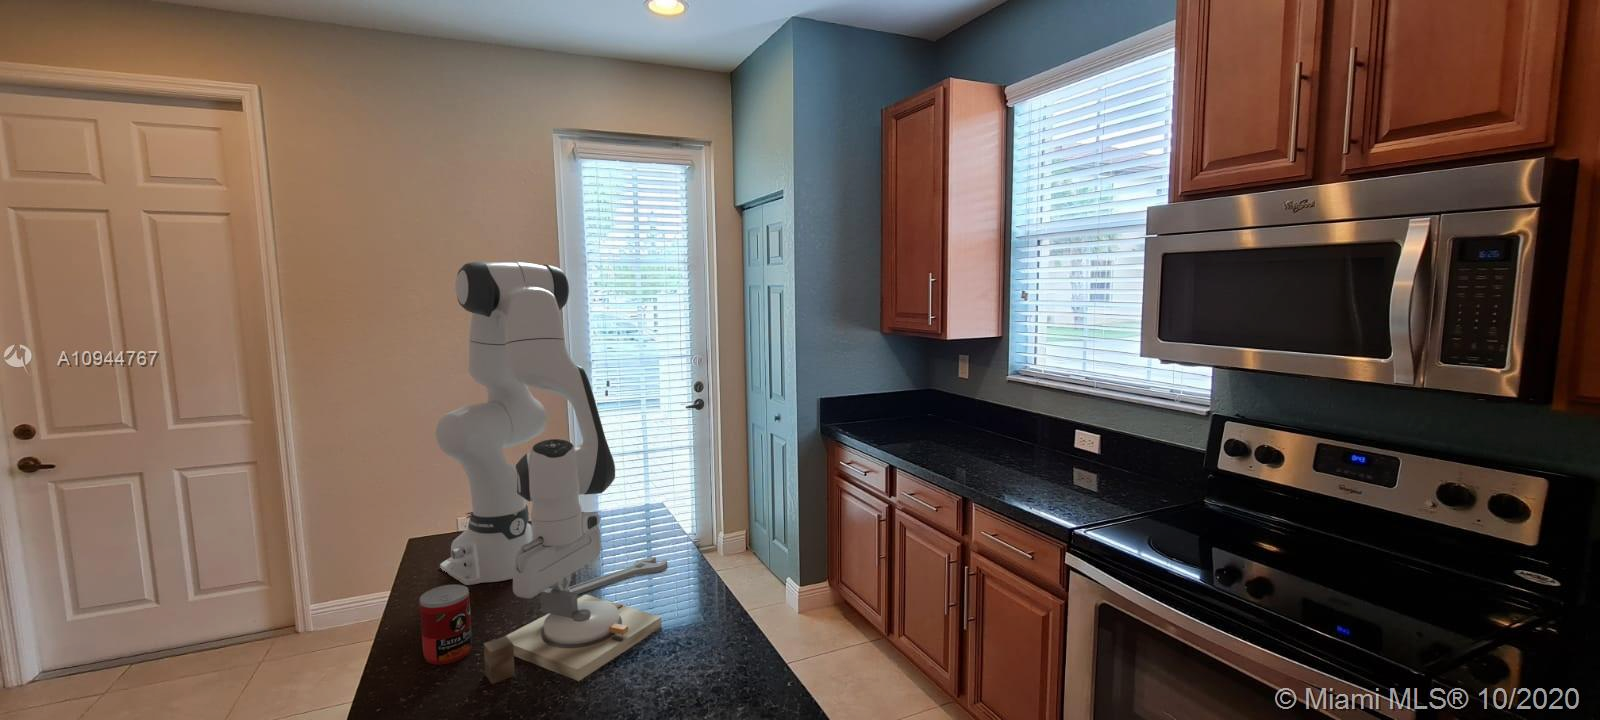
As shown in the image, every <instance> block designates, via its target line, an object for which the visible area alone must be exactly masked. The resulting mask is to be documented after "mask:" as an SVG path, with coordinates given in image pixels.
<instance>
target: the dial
mask: <svg viewBox="0 0 1600 720" xmlns="http://www.w3.org/2000/svg"><path fill="white" fill-rule="evenodd" d="M577 599H578V594H577V593H573V592H567V591H562V590H561V591H560V590H555V589H552V588H551V587H549V588H547V589H546V590H544V591H542V592H541V593H540V607H541V613H546V614H550V615H548V616H547V618H546V619H545V621H544V634H545V637H546V638H547V639H548V640H550V641H552V642H555V643H558V644H581V643H587V642H591V641H594V640H597V639H600V638H602V637H604V636H606V635H608V634H609V633H611V632H612V633H616V634H621V635H624V634H625V633H627V632H628V626H626V625H621V624H619V611H618V609H617V607H616V606H614V605H613V604H610V603H607V602H602V601H585V602H577Z"/></svg>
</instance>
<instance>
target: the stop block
mask: <svg viewBox="0 0 1600 720" xmlns="http://www.w3.org/2000/svg"><path fill="white" fill-rule="evenodd" d="M482 645H483V656H484V657H483V658H484V659H483V660H484V673H485V674H484V675H485V676H486V678H487V679H488V681H489V683H491V685H494V684H496V683H497V684H498V683H499V682H502V681H505V680H507V679H510V678H512V677H515V676H516V671H515V669H516V668H515V656H514V650H513V643H512V642H511V641H510V640H509V639H508V638H507V636H506V635H505V636H502V637H498V638H496V639H492V640H489V641H487V642H483V644H482Z"/></svg>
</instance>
